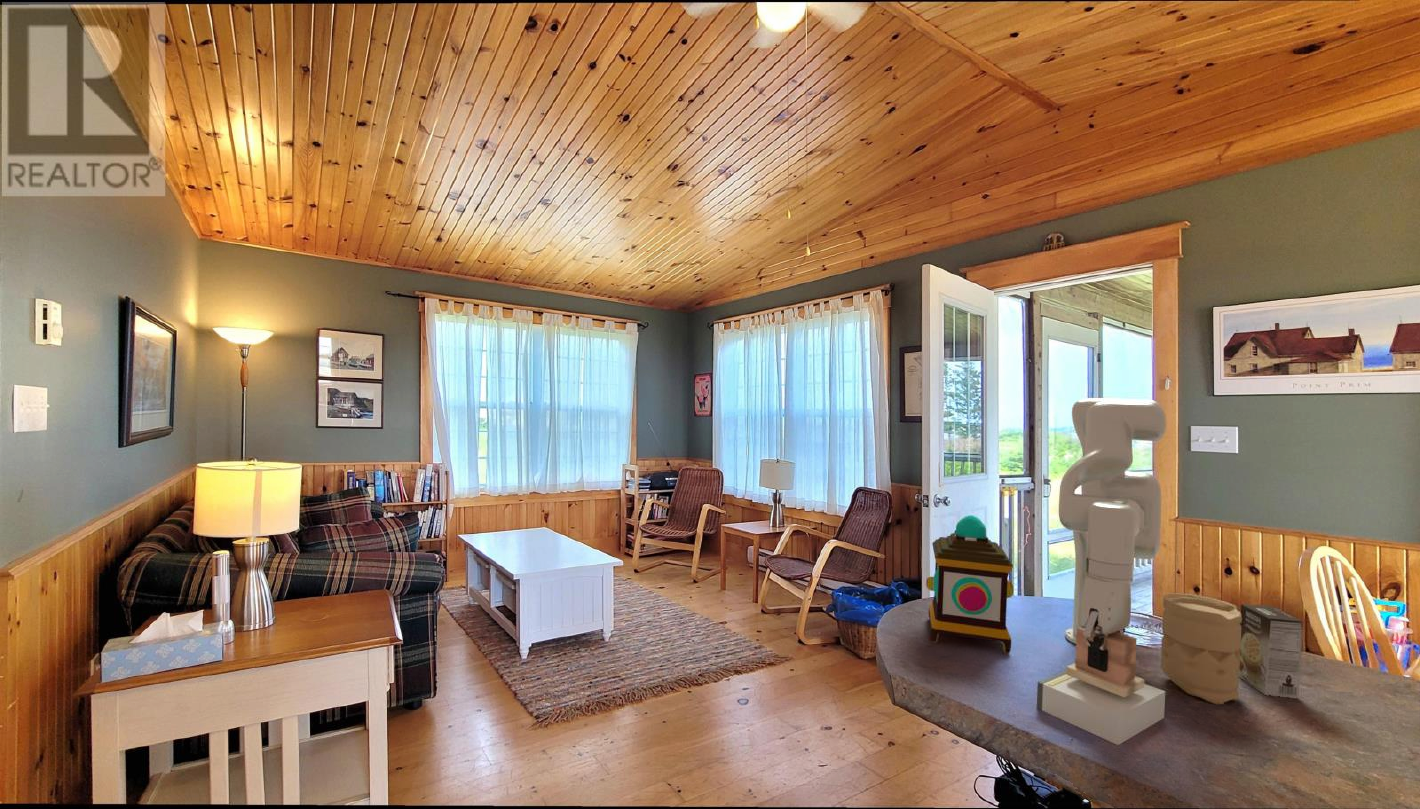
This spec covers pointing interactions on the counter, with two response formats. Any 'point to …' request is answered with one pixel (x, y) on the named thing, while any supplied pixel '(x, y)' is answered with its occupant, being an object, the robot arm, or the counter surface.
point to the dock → (1100, 707)
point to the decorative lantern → (970, 585)
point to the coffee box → (1270, 650)
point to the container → (1202, 646)
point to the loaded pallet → (1106, 682)
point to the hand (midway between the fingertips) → (1104, 664)
